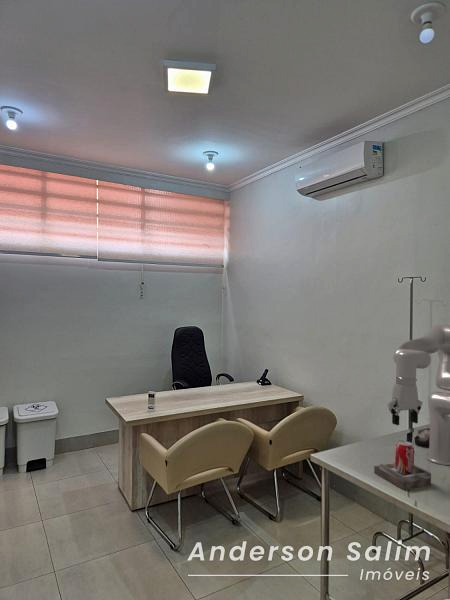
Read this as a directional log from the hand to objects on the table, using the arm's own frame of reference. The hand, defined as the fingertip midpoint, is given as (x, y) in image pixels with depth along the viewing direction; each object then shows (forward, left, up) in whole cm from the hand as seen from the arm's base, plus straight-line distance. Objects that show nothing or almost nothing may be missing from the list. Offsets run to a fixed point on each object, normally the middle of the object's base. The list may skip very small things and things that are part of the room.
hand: (404, 423), depth 161 cm
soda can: (0, 0, -20) cm, 20 cm away
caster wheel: (-44, -30, -24) cm, 58 cm away
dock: (0, -1, -23) cm, 23 cm away
